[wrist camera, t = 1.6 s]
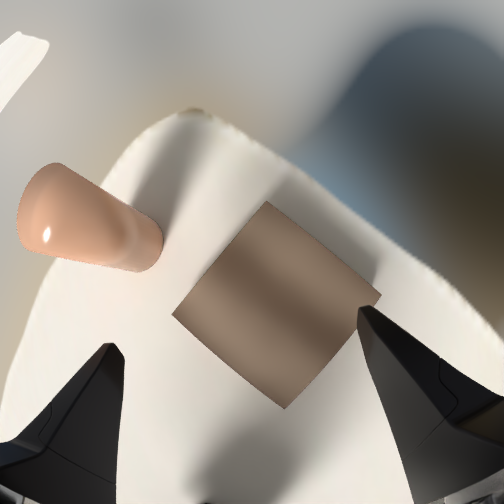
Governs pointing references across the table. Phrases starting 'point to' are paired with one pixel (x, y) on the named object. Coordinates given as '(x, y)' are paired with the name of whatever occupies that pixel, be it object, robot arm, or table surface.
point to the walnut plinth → (275, 305)
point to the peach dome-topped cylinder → (85, 223)
